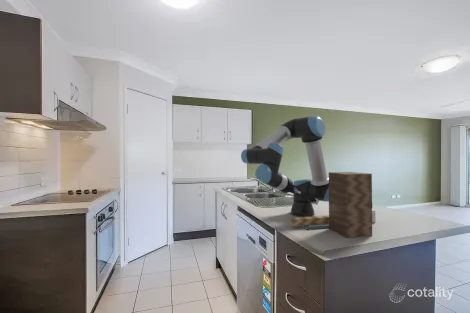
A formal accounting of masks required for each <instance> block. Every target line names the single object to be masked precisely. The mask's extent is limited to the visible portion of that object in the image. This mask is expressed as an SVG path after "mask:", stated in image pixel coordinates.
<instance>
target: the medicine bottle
mask: <svg viewBox="0 0 470 313" xmlns="http://www.w3.org/2000/svg"><path fill="white" fill-rule="evenodd" d="M372 224H376V209H373V208H372Z"/></svg>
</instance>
